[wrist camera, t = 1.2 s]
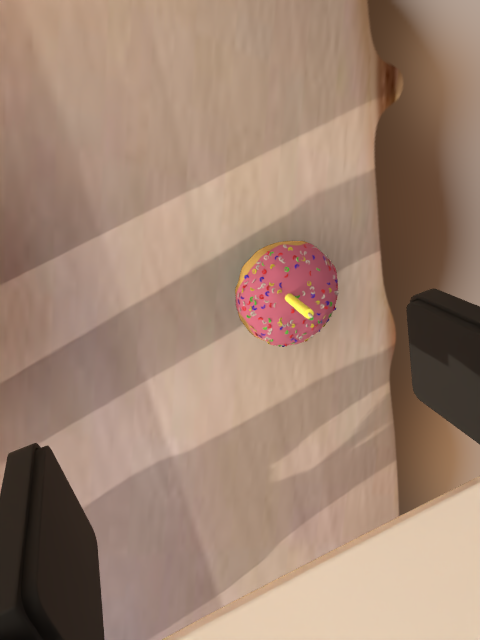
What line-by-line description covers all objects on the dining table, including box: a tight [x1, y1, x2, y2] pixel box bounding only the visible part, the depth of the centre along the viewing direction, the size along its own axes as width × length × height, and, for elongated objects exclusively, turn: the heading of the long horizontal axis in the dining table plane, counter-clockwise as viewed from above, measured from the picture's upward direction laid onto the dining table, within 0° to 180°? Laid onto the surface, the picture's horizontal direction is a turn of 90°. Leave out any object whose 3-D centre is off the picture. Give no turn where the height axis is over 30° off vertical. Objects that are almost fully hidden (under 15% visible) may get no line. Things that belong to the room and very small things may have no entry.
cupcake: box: [235, 241, 338, 347], centre depth 35 cm, size 9×8×12 cm
